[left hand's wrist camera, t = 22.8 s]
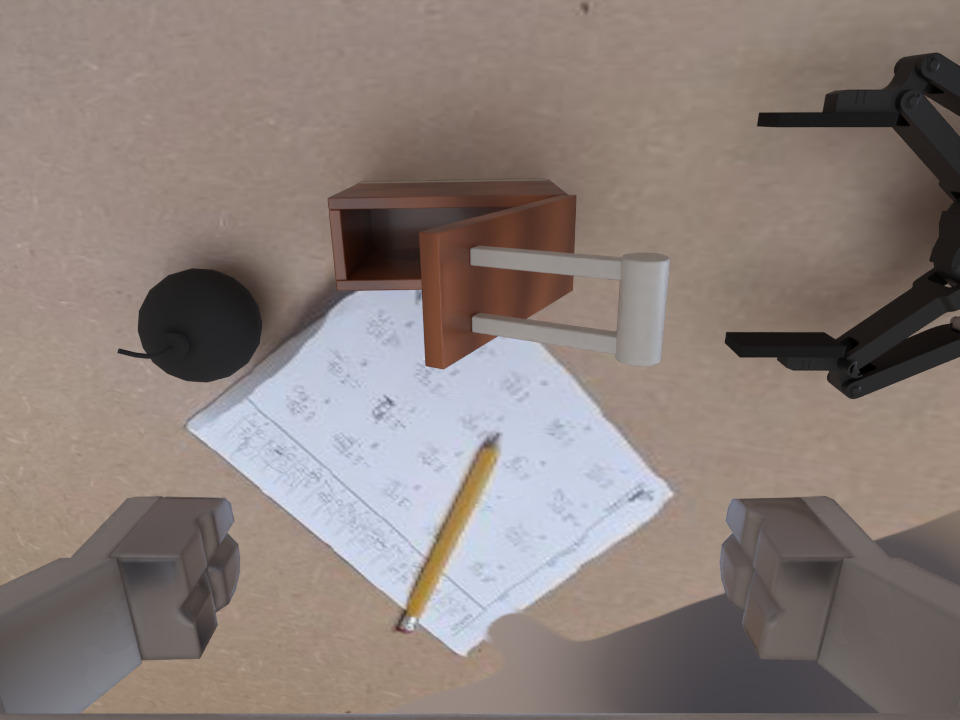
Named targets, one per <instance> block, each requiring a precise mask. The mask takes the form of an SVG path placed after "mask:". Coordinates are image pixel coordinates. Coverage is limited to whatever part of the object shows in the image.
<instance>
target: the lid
mask: <svg viewBox="0 0 960 720" xmlns="http://www.w3.org/2000/svg"><path fill="white" fill-rule="evenodd" d="M575 218H576V195H559V196H555V197H552V198H548V199H544V200H540V201H536V202H532V203H529V204H525V205H521V206H517V207H513V208H509V209H506V210H502V211H498V212H494V213H490V214H486V215H482V216H479V217H475V218H471V219H467V220H463V221H459V222H456V223H452V224H448V225H444V226H440V227H436V228H433V229H429V230H425V231H421V232H419V243H420V263H421V283H422V303H423V324H424V344H425V364H426V366H428V367H434V368H439V369H445V368H447V367H449V366H450V365H452V364H453V363H455V362H457V361H458V360H460V359H462V358H463V357H465V356H466V355H468V354H470V353H471V352H473V351H475V350H476V349H478V348H480V347H481V346H483V345H484V344H486V343H488V342H489V341H491V340H493V339H494V338H496V337H498V336H501V337H508V338H514V339H521V340H527V341H533V342H540V343H546V344H552V345H559V346H565V347H572V348H578V349H584V350H591V351H597V352H604V353H610V354H615V357H616V359H617V360H618V361H619V362H621V363H624V364H627V365H631V366H652V365H656V364H658V363H659V362H660V360H661V354H662V343H663V332H664V321H665V310H666V299H667V288H668V277H669V266H670V258H669V257H667V256H665V255H661V254H655V253H631V254H626V255H624V256H622V257H610V256H598V255H586V254H574V245H575ZM573 276H583V277H592V278H602V279H612V280H620V289H619V305H618V321H617V332H614V331H607V330H600V329H593V328H586V327H578V326H571V325H564V324H557V323H550V322H543V321H535V320H528V319H527V318H529V317H530V316H532V315H533V314H535V313H537V312H538V311H540V310H542V309H543V308H545V307H546V306H548V305H550V304H551V303H553V302H555V301H556V300H558V299H560V298H561V297H563V296H564V295H566V294H568V293H569V292H571V291H573Z"/></svg>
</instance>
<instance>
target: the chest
mask: <svg viewBox="0 0 960 720" xmlns="http://www.w3.org/2000/svg"><path fill="white" fill-rule="evenodd" d="M559 195H568V194H567V193H565V192H564V191H563V190H561V189H560V188H559V187H558V186H556V185H555V184H554V183H553V182H551V181H550V180H549V179H505V180H445V181H385V182H360V183H358V184H357V185H354V186H352V187H350V188H348V189H346V190H344V191H342V192H340V193H338V194H336V195H334V196H331V197H329V198H328V207H329V216H330V227H331V237H332V247H333V257H334V267H335V277H336V287H337V291H368V290H422V283H421V263H420V243H419V232H421V231H425V230H429V229H433V228H436V227H440V226H444V225H448V224H452V223H456V222H459V221H463V220H467V219H471V218H475V217H479V216H482V215H486V214H490V213H494V212H498V211H502V210H506V209H509V208H513V207H517V206H521V205H525V204H529V203H532V202H536V201H540V200H544V199H548V198H552V197H555V196H559Z"/></svg>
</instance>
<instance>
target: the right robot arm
mask: <svg viewBox="0 0 960 720" xmlns="http://www.w3.org/2000/svg"><path fill="white" fill-rule="evenodd" d="M894 73H895V76H894V77H893V79H892V81H891V82H890V84H889V85H888V86H887V87H885V88H884V89H882V90H838V91H833V92H831V93H828V94H826V97H825V102H824V107H823V112H801V113H759V117H758V123H757V126H762V127H892V128H893V129H894V130H895V131H896V132H897V133H898V134H899V136H900V137H901V138H902V139H903V140H904V141H905V142H906V143H907V144H908V146H909V147H910V148H911V149H912V150H913V151H914V152H915V153H916V155H917V156H918V157H919V158H920V159H921V160H922V161H923V162H924V164H925V165H926V166H927V167H928V168H929V169H930V170H931V171H932V173H933V174H934V175H935V176H936V177H937V178H938V179H939V181H940V182H939V185H940V187H941V188H942V189H943V190H944V191H945V192H946V194H947V195H948V196H949V197H950V198H951V199H952V200H953V201H954V203H952V205H951V206H950V207H949V209H948V210H947V211H942V215H941V219H940V222H939V238H938V240H937V242H936V243H935V245H934V247H933V249H932V253H931V257H930V261H931V262H934V268H933V269H931V270H930V271H928V272H927V273H925V274H924V275H922V276H921V277H920V278H918V279H917V280H915V281H914V282H913V287H912V288H911V289H910V290H908V291H907V292H905V293H904V294H902V295H901V296H899V297H898V298H896V299H895V300H893V301H892V302H890V303H889V304H887V305H886V306H884V307H883V308H882V309H880V310H879V311H877V312H876V313H874V314H873V315H871V316H870V317H868V318H867V319H865V320H864V321H862V322H861V323H859V324H858V325H856V326H855V327H853V328H852V329H850V330H849V331H848V332H846V333H845V334H843V335H842V336H840V337H839V338H837V339H836V340H835V339H834V338H832V337H831V336H829V335H828V334H826V333H825V332H726V338H725V344H726V345H728V346H729V347H730V348H731V349H732V350H733V351H734V352H735V353H736V354H737V355H738V356H739V357H777V360H778V361H779V362H780V363H781V364H783V365H784V366H785V367H786V368H789V369H791V370H818V371H829V373H828V375H827V380H828V382H829V383H830V384H832V385H833V386H834V387H835V388H837V389H838V390H839V391H841V392H842V393H843V394H844V395H846V396H847V397H849V398H850V399H856V398H859V397H862V396H864V395H867V394H869V393H872V392H874V391H877V390H879V389H881V388H884V387H886V386H889V385H891V384H894V383H896V382H899V381H901V380H904V379H906V378H909V377H911V376H914V375H916V374H919V373H921V372H923V371H926V370H928V369H931V368H933V367H936V366H938V365H941V364H943V363H946V362H948V361H951V360H953V359H956V358H958V357H960V316H959V317H957V316H954V317H952V318H951V320H950V324H945V325H940V326H937V327H934V328H931V329H928V330H926V331H923V332H921V333H919V334H916V335H914V336H911V335H912V334H914V333H915V332H917V331H918V330H920V329H921V328H923V327H924V326H926V325H927V324H929V323H930V322H932V321H933V320H935V319H937V318H938V317H940V316H941V315H943V314H944V313H946V312H951V311H957V310H959V309H960V137H959V135H958V134H957V133H956V132H955V131H954V130H953V129H952V127H951V126H950V125H949V124H948V123H947V122H946V120H945V119H944V118H943V117H942V116H941V115H940V113H939V112H938V111H937V110H936V109H935V108H934V106H933V105H932V104H931V103H930V102H929V101H928V99H927V98H926V97H925V96H924V95H926V96H927V97H929V98H930V99H932V100H934V101H935V102H937V103H939V104H940V105H942V106H943V107H945V108H947V109H948V110H950V111H952V112H953V113H955V114H956V115H958V116H960V66H959V65H957V64H956V63H954V62H952V61H951V60H949V59H948V58H946V57H945V56H943V55H941V54H939V53H930V54H921V55H914V56H908V57H903V58H901V59H900V60H899V61H898V62H897V63H896V65H895V67H894ZM923 94H924V95H923ZM946 284H949V285H950V286H952V287H945V285H946ZM909 336H911V337H909ZM908 337H909V338H908ZM906 338H907V339H906Z"/></svg>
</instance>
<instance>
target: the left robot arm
mask: <svg viewBox="0 0 960 720" xmlns="http://www.w3.org/2000/svg"><path fill="white" fill-rule="evenodd" d="M233 522H234V517H233V512H232V507H231V503H230V502H229V501H228V500H227V499H226V498H205V497H162V496H150V497H132V498H128V499H126V500H125V501H124V502H123V503H122V505H121V506H120V507H119V508H118V509H117V510H116V511H115V512H114V513H113V514H112V515H111V516H110V517H109V518H108V519H107V520H106V521H105V522H104V523H103V524H102V525H101V526H100V528H99V529H98V530H97V531H96V532H95V533H94V534H93V535H92V536H91V537H90V538H89V539H88V540H87V541H86V542H85V543H84V544H83V545H82V546H81V547H80V548H79V549H78V551H77V552H76V553H75V554H74V555H73V556H72V557H71V558H59V559H57V560H55V561H53V562H51V563H48V564H46V565H44V566H42V567H40V568H38V569H36V570H33V571H31V572H29V573H27V574H25V575H23V576H21V577H19V578H16V579H14V580H12V581H10V582H8V583H6V584H4V585H1V586H0V720H960V586H958V585H956V584H954V583H952V582H950V581H948V580H946V579H944V578H941V577H939V576H937V575H935V574H933V573H931V572H929V571H926V570H924V569H922V568H920V567H918V566H916V565H914V564H912V563H909V562H907V561H905V560H903V559H901V558H889V557H888V556H887V555H886V554H885V553H884V552H883V550H882V549H881V548H880V547H879V546H878V545H877V544H876V543H875V542H874V541H873V540H872V539H871V538H870V537H869V536H868V535H867V534H866V533H865V532H864V531H863V530H862V528H861V527H860V526H859V525H858V524H857V523H856V522H855V521H854V520H853V519H852V518H851V517H850V516H849V515H848V514H847V513H846V512H845V511H844V510H843V509H842V508H841V506H840V505H839V504H838V503H837V502H836V501H835V500H834V499H831V498H829V497H827V496H814V497H794V498H751V499H732V500H731V502H730V504H729V506H728V510H727V516H726V522H727V524H728V526H729V527H730V529H731V531H732V532H733V533H732V534H731V535H730V536H729V537H728V538H727V539H726V540H725V541H724V543H723V544H722V547H721V555H720V571H721V580H722V583H723V586H724V590H725V593H726V595H727V597H728V599H729V601H730V603H731V604H732V605H734V606H735V607H737V608H738V609H740V610H741V611H743V612H744V617H743V623H742V625H743V627H744V629H745V631H746V633H747V635H748V637H749V639H750V640H751V642H752V644H753V646H754V648H755V650H756V652H757V654H758V655H759V657H760V659H788V660H819V661H818V663H819V664H820V665H821V666H822V667H824V668H825V669H826V670H827V671H829V672H830V673H831V674H832V675H834V676H835V677H836V678H837V679H838V680H840V681H841V682H842V683H843V684H845V685H846V686H847V687H848V688H849V689H851V690H852V691H853V692H854V693H856V694H857V695H858V696H859V697H861V698H862V699H863V700H864V701H865V702H867V703H868V704H869V705H871V706H872V707H873V708H874V709H875V710H877V711H878V712H879V713H880V714H80V713H81V712H82V711H84V710H85V709H86V708H87V707H89V706H90V705H91V704H92V703H93V702H95V701H96V700H97V699H98V698H100V697H101V696H102V695H103V694H105V693H106V692H107V691H108V690H110V689H111V688H112V687H113V686H114V685H116V684H117V683H118V682H119V681H121V680H122V679H123V678H124V677H126V676H127V675H128V674H129V673H131V672H132V671H133V670H134V669H136V668H137V667H138V666H139V665H140V664H142V661H141V660H171V659H200V657H201V656H202V654H203V652H204V650H205V648H206V646H207V644H208V642H209V640H210V639H211V637H212V635H213V633H214V631H215V629H216V627H217V625H218V623H217V618H216V612H217V611H219V610H220V609H222V608H223V607H225V606H226V605H228V604H229V603H230V601H231V598H232V596H233V594H234V592H235V590H236V587H237V582H238V578H239V573H240V553H239V547H238V544H237V543H236V542H235V540H234V539H233V538H232V537H231V536H230V535H229V534H228V533H227V532H228V531H229V529H230V527H231V526H232V524H233Z"/></svg>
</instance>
